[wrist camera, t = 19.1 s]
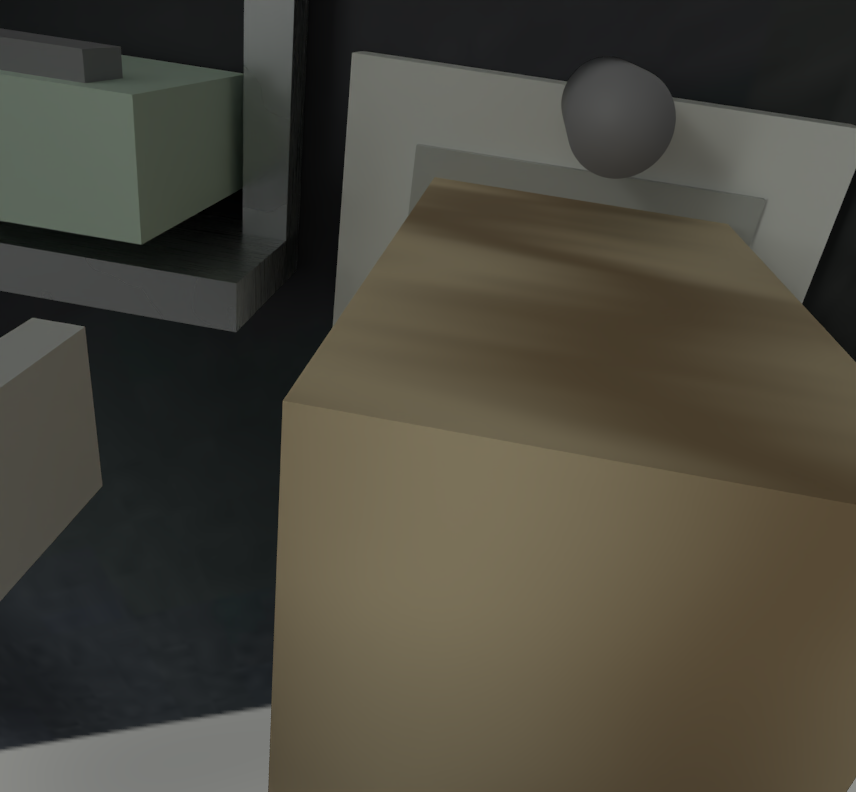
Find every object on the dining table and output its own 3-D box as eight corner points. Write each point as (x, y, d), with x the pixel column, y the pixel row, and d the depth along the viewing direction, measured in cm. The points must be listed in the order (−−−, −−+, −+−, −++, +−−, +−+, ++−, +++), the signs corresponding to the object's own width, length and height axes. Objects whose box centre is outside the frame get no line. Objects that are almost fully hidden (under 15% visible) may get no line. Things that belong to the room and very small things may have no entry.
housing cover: (-39, 139, 17) (-239, 179, 13) (-63, 1, 16) (-294, -6, 11) (245, 186, 17) (141, 244, 12) (247, 48, 15) (130, 59, 11)
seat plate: (330, 469, 20) (279, 579, 16) (365, 18, 15) (301, 17, 11) (692, 537, 20) (731, 668, 16) (863, 92, 14) (986, 119, 10)
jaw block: (402, 425, 18) (267, 823, 9) (434, 177, 15) (282, 400, 6) (647, 470, 17) (757, 929, 9) (728, 224, 15) (1012, 532, 6)
